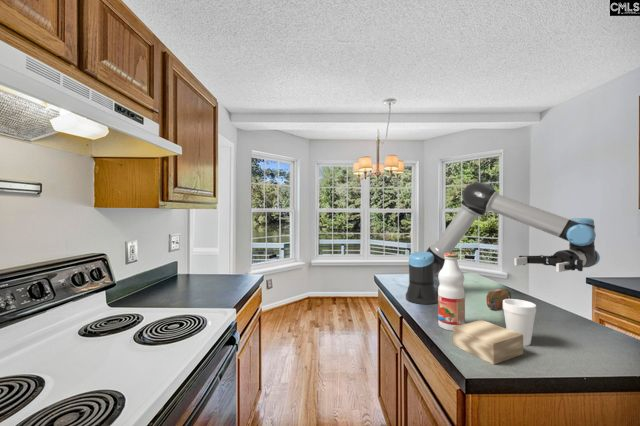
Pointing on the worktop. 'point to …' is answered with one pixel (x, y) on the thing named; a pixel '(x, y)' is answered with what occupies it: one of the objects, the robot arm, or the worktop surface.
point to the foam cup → (520, 317)
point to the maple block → (488, 341)
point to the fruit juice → (451, 294)
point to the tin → (497, 298)
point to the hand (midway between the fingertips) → (535, 264)
